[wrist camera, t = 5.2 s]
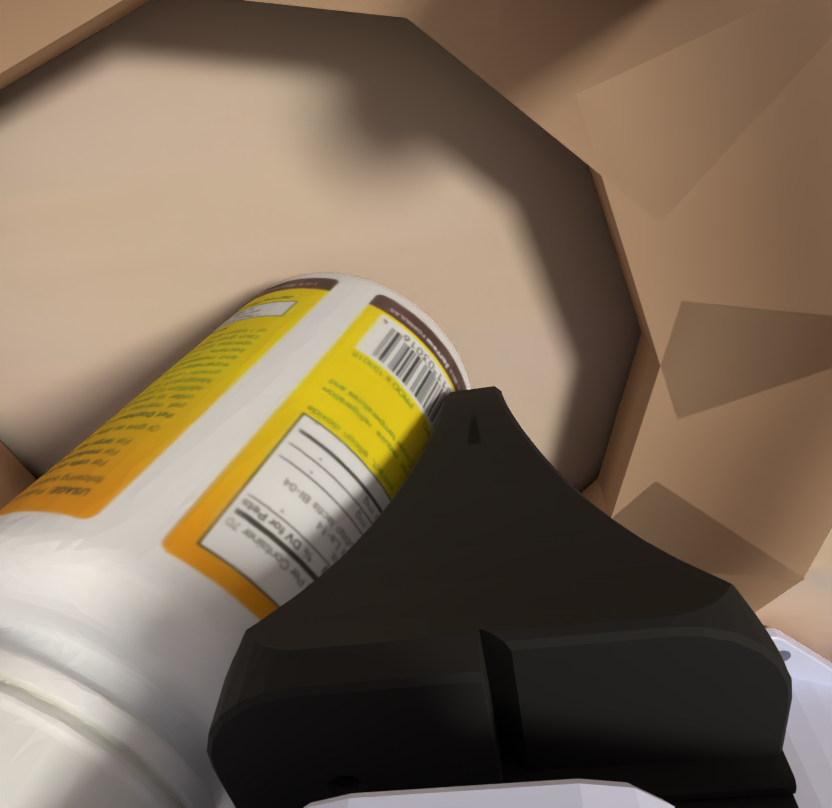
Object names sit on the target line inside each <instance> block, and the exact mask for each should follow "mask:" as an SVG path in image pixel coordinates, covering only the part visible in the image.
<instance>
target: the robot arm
mask: <svg viewBox="0 0 832 808" xmlns="http://www.w3.org/2000/svg"><path fill="white" fill-rule="evenodd" d="M207 753H208V756H209V759H210V762H211V765H212V768H213V770H214V771H215V773H216V775H217V777H218V778H219V780H220V782H221V784H222V785H223V787H224V789H225V790H226V792H227V794H228V796H229V797H230V799H231V801H232V803H233V804H234V806H235V808H832V663H831V662H830V661H828V660H827V659H825V658H823V657H822V656H820V655H818V654H817V653H815V652H813V651H812V650H810V649H809V648H807V647H805V646H804V645H802V644H800V643H799V642H797V641H796V640H794V639H792V638H791V637H789V636H787V635H786V634H784V633H782V632H781V631H779V630H777V629H774V628H764V626H763V625H762V623H761V622H760V620H759V619H758V617H757V616H756V614H755V613H754V611H753V610H752V609H751V607H750V606H749V605H748V603H747V602H746V601H745V599H744V598H743V597H742V595H741V594H740V593H739V591H738V590H737V589H736V588H735V586H734V585H732V584H731V583H729V582H727V581H725V580H723V579H720V578H718V577H716V576H714V575H712V574H710V573H707V572H705V571H703V570H701V569H699V568H697V567H694V566H692V565H690V564H688V563H686V562H684V561H681V560H679V559H677V558H675V557H673V556H671V555H670V554H668V553H666V552H664V551H663V550H661V549H659V548H657V547H655V546H654V545H652V544H650V543H648V542H647V541H645V540H643V539H642V538H640V537H639V536H637V535H636V534H634V533H633V532H631V531H630V530H628V529H627V528H625V527H624V526H622V525H621V524H619V523H618V522H616V521H615V520H613V519H612V518H611V517H609V516H608V515H607V514H605V513H604V512H603V511H602V510H600V509H599V508H598V507H597V506H595V505H594V504H593V503H592V502H590V501H589V500H588V499H587V498H586V497H585V496H583V495H582V494H581V493H580V492H579V491H578V490H577V489H575V488H574V487H573V486H572V485H571V484H570V483H569V482H568V481H567V480H566V479H565V478H564V477H563V476H562V475H561V474H560V473H559V472H558V471H557V470H556V469H555V468H554V467H553V466H552V464H551V463H550V462H549V461H548V460H547V459H546V458H545V457H544V456H543V454H542V453H541V452H540V451H539V450H538V449H537V447H536V446H535V445H534V443H533V442H532V441H531V440H530V438H529V437H528V436H527V435H526V433H525V432H524V431H523V429H522V428H521V426H520V425H519V424H518V422H517V421H516V419H515V417H514V416H513V414H512V413H511V411H510V409H509V408H508V406H507V404H506V402H505V400H504V398H503V395H502V392H501V391H500V390H499V389H497V388H496V387H495V386H493V387H485V388H478V389H470V390H463V391H455V392H450V393H449V394H448V396H447V397H446V398H445V401H444V404H443V407H442V410H441V412H440V415H439V417H438V420H437V422H436V424H435V426H434V428H433V431H432V433H431V435H430V437H429V439H428V441H427V442H426V444H425V446H424V448H423V450H422V452H421V454H420V456H419V458H418V459H417V461H416V463H415V464H414V466H413V468H412V469H411V471H410V472H409V474H408V476H407V477H406V479H405V480H404V482H403V484H402V485H401V487H400V488H399V490H398V491H397V493H396V494H395V495H394V497H393V498H392V500H391V501H390V502H389V504H388V505H387V506H386V508H385V509H384V510H383V511H382V513H381V514H380V515H379V516H378V518H377V519H376V520H375V521H374V523H373V524H372V525H371V526H370V527H369V528H368V530H367V531H366V532H365V533H364V534H363V535H362V536H361V537H360V538H359V539H358V541H357V542H356V543H355V544H354V545H353V546H352V547H351V548H350V549H349V550H348V551H347V552H346V553H345V554H344V555H343V556H342V557H341V558H340V559H339V560H338V561H337V562H335V563H334V564H333V565H332V566H331V567H330V568H329V569H328V570H327V571H325V572H324V573H323V574H322V575H321V576H320V577H318V578H317V579H316V580H315V581H313V582H312V583H311V584H310V585H309V586H307V587H306V588H305V589H304V590H302V591H301V592H300V593H298V594H297V595H296V596H295V597H293V598H292V599H290V600H289V601H288V602H286V603H285V604H283V605H282V606H280V607H279V608H278V609H276V610H275V611H273V612H272V613H270V614H269V615H268V616H266V617H265V618H263V619H262V620H261V621H259V622H258V623H256V624H255V625H253V626H251V627H250V628H248V629H247V630H246V631H245V633H244V635H243V638H242V640H241V643H240V645H239V647H238V650H237V652H236V654H235V656H234V658H233V660H232V663H231V665H230V668H229V670H228V673H227V675H226V678H225V680H224V684H223V687H222V690H221V694H220V697H219V700H218V703H217V707H216V710H215V713H214V717H213V720H212V723H211V727H210V730H209V733H208V743H207Z"/></svg>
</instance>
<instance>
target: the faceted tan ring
mask: <svg viewBox="0 0 832 808" xmlns="http://www.w3.org/2000/svg"><path fill="white" fill-rule="evenodd" d="M149 1H151V0H0V89H2V88H4V87H6V86H7V85H9V84H11V83H12V82H14V81H16V80H17V79H19V78H21V77H22V76H24V75H26V74H27V73H29V72H31V71H33V70H34V69H36V68H38V67H39V66H41V65H43V64H44V63H46V62H48V61H49V60H51V59H53V58H54V57H56V56H58V55H60V54H61V53H63V52H65V51H66V50H68V49H70V48H71V47H73V46H75V45H76V44H78V43H80V42H81V41H83V40H85V39H87V38H88V37H90V36H92V35H93V34H95V33H97V32H98V31H100V30H102V29H103V28H105V27H107V26H108V25H110V24H112V23H114V22H115V21H117V20H119V19H120V18H122V17H124V16H125V15H127V14H129V13H130V12H132V11H134V10H135V9H137V8H139V7H141V6H142V5H144V4H146V3H147V2H149ZM246 1H255V2H265V3H274V4H283V5H292V6H301V7H311V8H320V9H329V10H338V11H348V12H357V13H366V14H375V15H384V16H394V17H403V18H407V19H409V20H410V21H411V22H412V23H414V24H415V25H416V26H417V27H419V28H420V29H421V30H422V31H423V32H425V33H426V34H427V35H428V36H430V37H431V38H432V39H433V40H435V41H436V42H437V43H438V44H439V45H441V46H442V47H443V48H444V49H446V50H447V51H448V52H449V53H451V54H452V55H453V56H454V57H456V58H457V59H458V60H459V61H460V62H462V63H463V64H464V65H465V66H467V67H468V68H469V69H470V70H472V71H473V72H474V73H475V74H477V75H478V76H479V77H480V78H481V79H483V80H484V81H485V82H486V83H488V84H489V85H490V86H491V87H493V88H494V89H495V90H496V91H498V92H499V93H500V94H501V95H502V96H504V97H505V98H506V99H507V100H509V101H510V102H511V103H512V104H514V105H515V106H516V107H517V108H519V109H520V110H521V111H522V112H523V113H525V114H526V115H527V116H528V117H530V118H531V119H532V120H533V121H535V122H536V123H537V124H538V125H540V126H541V127H542V128H543V129H544V130H546V131H547V132H548V133H549V134H551V135H552V136H553V137H554V138H556V139H557V140H558V141H559V142H561V143H562V144H563V145H564V146H565V147H567V148H568V149H569V150H570V151H572V152H573V153H574V154H575V155H577V156H578V157H579V158H580V159H582V160H583V161H584V162H585V163H586V164H588V165H589V168H590V171H591V175H592V178H593V181H594V184H595V187H596V190H597V193H598V197H599V200H600V203H601V206H602V209H603V212H604V216H605V219H606V222H607V225H608V228H609V231H610V234H611V238H612V241H613V244H614V247H615V250H616V253H617V256H618V260H619V263H620V266H621V269H622V272H623V275H624V279H625V282H626V285H627V288H628V291H629V294H630V297H631V301H632V304H633V307H634V310H635V313H636V316H637V319H638V323H639V326H640V329H641V335H640V339H639V342H638V345H637V349H636V352H635V355H634V359H633V362H632V365H631V369H630V372H629V375H628V379H627V382H626V386H625V389H624V392H623V396H622V399H621V402H620V406H619V409H618V412H617V416H616V419H615V422H614V426H613V429H612V432H611V436H610V439H609V442H608V446H607V449H606V453H605V456H604V459H603V463H602V466H601V469H600V473H599V476H598V479H596V480H595V481H594V482H593V483H592V484H591V485H590V486H589V487H588V488H587V489H585V490H584V491H583V492H582V493H581V494H582V495H583V496H585V497H586V498H587V499H588V500H589V501H590V502H592V503H593V504H594V505H595V506H597V507H598V508H599V509H600V510H602V511H603V512H604V513H605V514H607V515H608V516H609V517H611V518H612V519H613V520H615V521H616V522H618V523H619V524H621V525H622V526H624V527H625V528H627V529H628V530H630V531H631V532H633V533H634V534H636V535H637V536H639V537H640V538H642V539H643V540H645V541H647V542H648V543H650V544H652V545H654V546H655V547H657V548H659V549H661V550H663V551H664V552H666V553H668V554H670V555H671V556H673V557H675V558H677V559H679V560H681V561H684V562H686V563H688V564H690V565H692V566H694V567H697V568H699V569H701V570H703V571H705V572H707V573H710V574H712V575H714V576H716V577H718V578H720V579H723V580H725V581H727V582H729V583H731V584H732V585H734V586H735V588H736V589H737V590H738V591H739V593H740V594H741V595H742V597H743V598H744V599H745V601H746V602H747V603H748V605H749V606H750V607H751V609H752V610H753V611H754V613H755V612H756V611H758V610H759V609H761V608H762V607H763V606H765V605H766V604H768V603H769V602H771V601H772V600H774V599H775V598H777V597H778V596H780V595H781V594H783V593H784V592H785V591H787V590H788V589H790V588H791V587H793V586H794V585H796V584H797V583H799V582H800V581H802V580H803V579H804V576H805V575H806V573H807V571H808V569H809V567H810V566H811V564H812V562H813V560H814V559H815V557H816V555H817V553H818V551H819V550H820V548H821V546H822V544H823V542H824V541H825V539H826V537H827V535H828V533H829V532H830V530H831V528H832V0H246ZM35 481H36V479H35V478H34V477H33V476H32V474H31V473H30V472H29V471H28V470H27V469H26V468H25V467H24V466H23V465H22V464H21V463H20V462H19V461H18V460H17V459H16V457H15V456H14V455H13V454H12V453H11V452H10V451H9V450H8V449H7V448H6V447H5V446H4V445H3V444H2V443H1V441H0V510H1V509H2V508H3V507H5V506H6V505H7V504H8V503H9V502H11V501H12V500H13V499H14V498H16V497H17V496H18V495H19V494H21V493H22V492H23V491H24V490H25V489H27V488H28V487H29V486H30V485H31V484H33V483H34V482H35Z"/></svg>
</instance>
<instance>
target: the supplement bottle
mask: <svg viewBox="0 0 832 808" xmlns="http://www.w3.org/2000/svg"><path fill="white" fill-rule="evenodd" d="M470 389H471V387H470V383H469V380H468V377H467V373H466V370H465V368H464V366H463V363H462V361H461V359H460V357H459V355H458V353H457V351H456V350H455V348H454V346H453V345H452V343H451V342H450V340H449V339H448V338H447V336H446V335H445V334H444V332H443V331H442V330H441V329H440V328H439V326H438V325H437V324H436V323H435V322H434V321H433V320H432V319H431V318H430V317H429V316H428V315H427V314H426V313H425V312H423V311H422V310H421V309H420V308H419V307H418V306H416V305H415V304H414V303H412V302H411V301H410V300H408V299H407V298H405V297H403V296H402V295H400V294H399V293H397V292H395V291H393V290H391V289H389V288H387V287H385V286H383V285H381V284H378V283H376V282H373V281H371V280H368V279H364V278H361V277H357V276H352V275H347V274H341V273H330V272H323V273H311V274H303V275H299V276H295V277H291V278H289V279H286V280H283V281H280V282H278V283H276V284H274V285H272V286H270V287H269V288H267V289H265V290H263V291H262V292H261V293H260V294H258V295H257V296H256V297H255V298H253V299H252V300H251V301H250V302H249V303H247V304H246V305H245V306H244V307H242V308H241V309H240V310H239V311H238V312H236V313H235V314H234V315H233V316H232V317H230V318H229V319H228V320H227V321H225V322H224V323H223V324H222V325H221V326H220V327H218V328H217V329H216V330H215V331H214V332H212V333H211V334H210V335H209V336H208V337H207V338H205V339H204V340H203V341H202V342H201V343H199V344H198V345H197V346H196V347H195V348H194V349H192V350H191V351H190V352H189V353H188V354H186V355H185V356H184V357H183V358H182V359H180V360H179V361H178V362H177V363H176V364H174V365H173V366H172V367H171V368H170V369H168V370H167V371H166V372H165V373H164V374H163V375H161V376H160V377H159V378H158V379H157V380H156V381H154V382H153V383H152V384H151V385H149V386H148V387H147V388H146V389H145V390H144V391H143V392H141V393H140V394H139V395H138V396H137V397H135V398H134V399H133V400H132V401H131V402H129V403H128V404H127V405H126V406H125V407H124V408H122V409H121V410H120V411H119V412H118V413H116V414H115V415H114V416H113V417H112V418H110V419H109V420H108V421H107V422H106V423H104V424H103V425H102V426H101V427H100V428H98V429H97V430H96V431H95V432H94V433H93V434H91V435H90V436H89V437H88V438H87V439H85V440H84V441H83V442H82V443H81V444H79V445H78V446H77V447H76V448H75V449H74V450H72V451H71V452H70V453H69V454H68V455H66V456H65V457H64V458H63V459H61V460H60V461H59V462H58V463H57V464H55V465H54V466H53V467H52V468H51V469H49V470H48V471H47V472H46V473H45V474H43V475H42V476H41V477H40V478H39V479H37V480H36V481H35V482H34V483H33V484H31V485H30V486H29V487H28V488H27V489H25V490H24V491H23V492H22V493H21V494H19V495H18V496H17V497H16V498H14V499H13V500H12V501H11V502H9V503H8V504H7V505H6V506H5V507H3V508H2V509H1V510H0V808H235V806H234V804H233V803H232V801H231V799H230V797H229V796H228V794H227V792H226V790H225V789H224V787H223V785H222V784H221V782H220V780H219V778H218V777H217V775H216V773H215V771H214V770H213V768H212V765H211V762H210V759H209V756H208V753H207V743H208V733H209V730H210V727H211V723H212V720H213V717H214V713H215V710H216V707H217V703H218V700H219V697H220V694H221V690H222V687H223V684H224V680H225V678H226V675H227V673H228V670H229V668H230V665H231V663H232V660H233V658H234V656H235V654H236V652H237V650H238V647H239V645H240V643H241V640H242V638H243V635H244V633H245V631H246V630H247V629H248V628H250V627H251V626H253V625H255V624H256V623H258V622H259V621H261V620H262V619H263V618H265V617H266V616H268V615H269V614H270V613H272V612H273V611H275V610H276V609H278V608H279V607H280V606H282V605H283V604H285V603H286V602H288V601H289V600H290V599H292V598H293V597H295V596H296V595H297V594H298V593H300V592H301V591H302V590H304V589H305V588H306V587H307V586H309V585H310V584H311V583H312V582H313V581H315V580H316V579H317V578H318V577H320V576H321V575H322V574H323V573H324V572H325V571H327V570H328V569H329V568H330V567H331V566H332V565H333V564H334V563H335V562H337V561H338V560H339V559H340V558H341V557H342V556H343V555H344V554H345V553H346V552H347V551H348V550H349V549H350V548H351V547H352V546H353V545H354V544H355V543H356V542H357V541H358V539H359V538H360V537H361V536H362V535H363V534H364V533H365V532H366V531H367V530H368V528H369V527H370V526H371V525H372V524H373V523H374V521H375V520H376V519H377V518H378V516H379V515H380V514H381V513H382V511H383V510H384V509H385V508H386V506H387V505H388V504H389V502H390V501H391V500H392V498H393V497H394V495H395V494H396V493H397V491H398V490H399V488H400V487H401V485H402V484H403V482H404V480H405V479H406V477H407V476H408V474H409V472H410V471H411V469H412V468H413V466H414V464H415V463H416V461H417V459H418V458H419V456H420V454H421V452H422V450H423V448H424V446H425V444H426V442H427V441H428V439H429V437H430V435H431V433H432V431H433V428H434V426H435V424H436V422H437V420H438V417H439V415H440V412H441V410H442V407H443V404H444V401H445V398H446V397H447V396H448V394H449V393H450V392H455V391H463V390H470Z"/></svg>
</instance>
